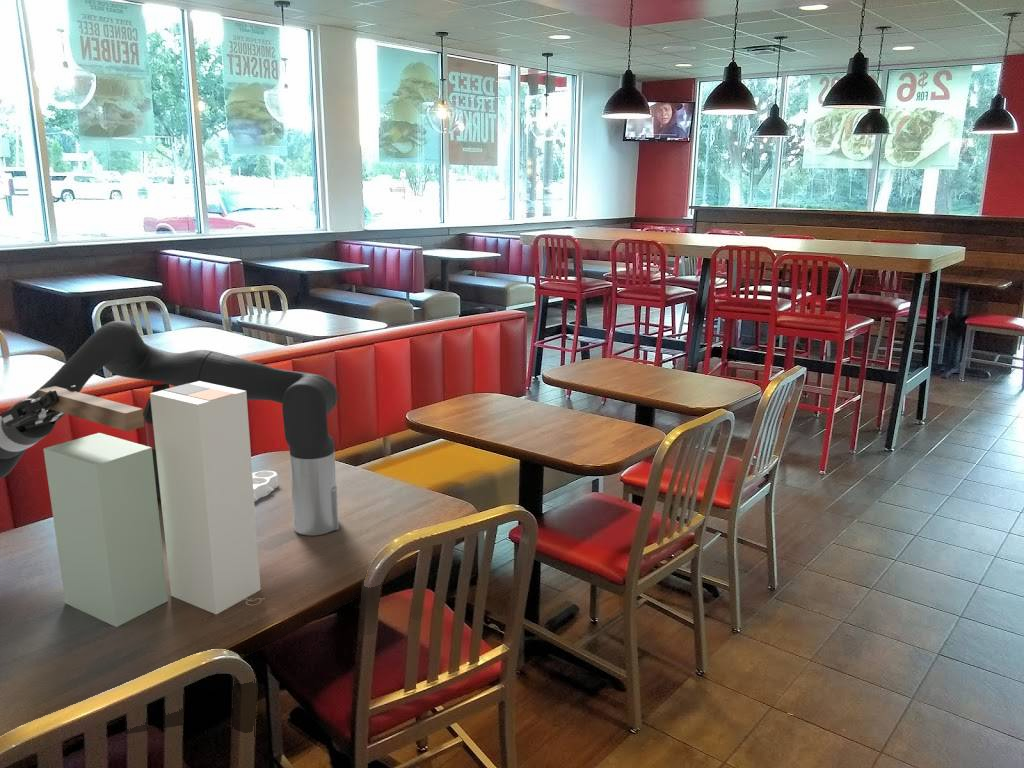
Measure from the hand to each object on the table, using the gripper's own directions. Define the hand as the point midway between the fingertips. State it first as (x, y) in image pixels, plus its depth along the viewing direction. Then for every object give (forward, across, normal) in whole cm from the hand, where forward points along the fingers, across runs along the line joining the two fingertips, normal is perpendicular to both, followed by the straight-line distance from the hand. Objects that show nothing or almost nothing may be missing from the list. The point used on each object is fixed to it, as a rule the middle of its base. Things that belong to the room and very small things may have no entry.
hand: (65, 393), depth 135 cm
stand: (-2, +12, +42) cm, 44 cm away
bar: (+4, 0, +6) cm, 7 cm away
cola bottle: (-40, +36, +20) cm, 58 cm away
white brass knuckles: (-30, +46, +27) cm, 61 cm away
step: (-12, 0, +36) cm, 38 cm away
